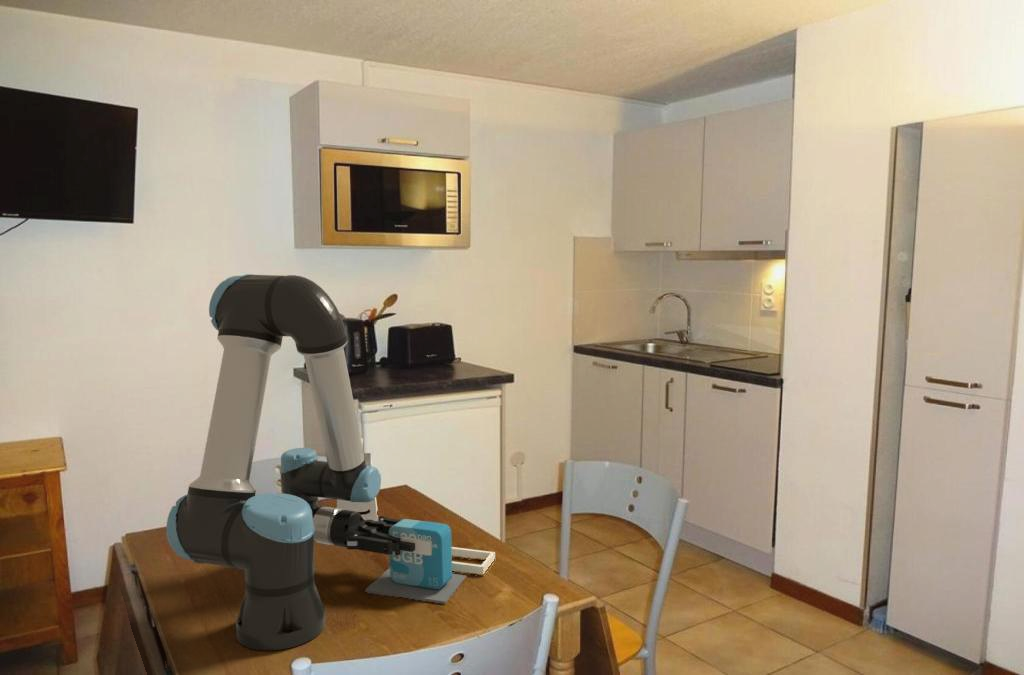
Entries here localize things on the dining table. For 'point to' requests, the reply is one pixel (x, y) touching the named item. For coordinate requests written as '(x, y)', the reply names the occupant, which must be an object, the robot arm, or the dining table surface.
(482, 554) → the cradle
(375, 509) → the grater
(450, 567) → the blue rounded block
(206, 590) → the dining table surface
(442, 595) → the mat
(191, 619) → the dining table surface
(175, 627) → the dining table surface
